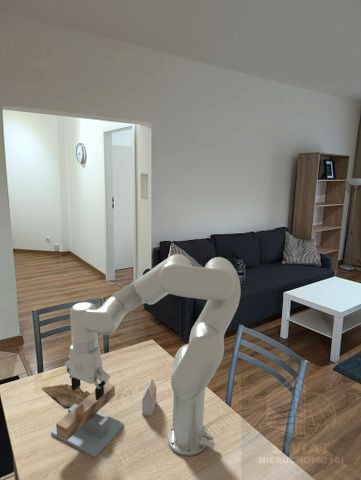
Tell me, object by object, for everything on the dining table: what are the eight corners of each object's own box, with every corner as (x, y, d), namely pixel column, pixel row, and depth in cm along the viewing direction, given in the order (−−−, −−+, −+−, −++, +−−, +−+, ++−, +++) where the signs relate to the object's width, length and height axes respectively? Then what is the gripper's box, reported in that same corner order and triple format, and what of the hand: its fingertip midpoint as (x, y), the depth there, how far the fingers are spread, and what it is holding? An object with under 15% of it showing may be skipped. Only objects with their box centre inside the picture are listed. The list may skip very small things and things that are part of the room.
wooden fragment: (107, 398, 121) (107, 396, 121) (87, 418, 111) (87, 415, 111) (55, 379, 132) (55, 376, 131) (33, 395, 122) (32, 393, 122)
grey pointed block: (142, 414, 114) (142, 389, 111) (146, 401, 120) (146, 376, 118) (152, 415, 113) (152, 390, 111) (156, 402, 120) (156, 377, 118)
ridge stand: (123, 425, 108) (123, 409, 107) (95, 457, 96) (94, 440, 95) (82, 407, 116) (82, 392, 115) (51, 434, 104) (50, 418, 103)
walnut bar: (67, 440, 94) (66, 428, 94) (56, 435, 96) (56, 423, 95) (114, 395, 114) (114, 385, 113) (105, 391, 115) (105, 381, 115)
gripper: (54, 341, 100) (58, 391, 104) (98, 356, 93) (101, 409, 96) (73, 331, 107) (76, 378, 110) (115, 344, 99) (117, 394, 103)
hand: (87, 392), depth 103 cm, fingers open, 9 cm apart
